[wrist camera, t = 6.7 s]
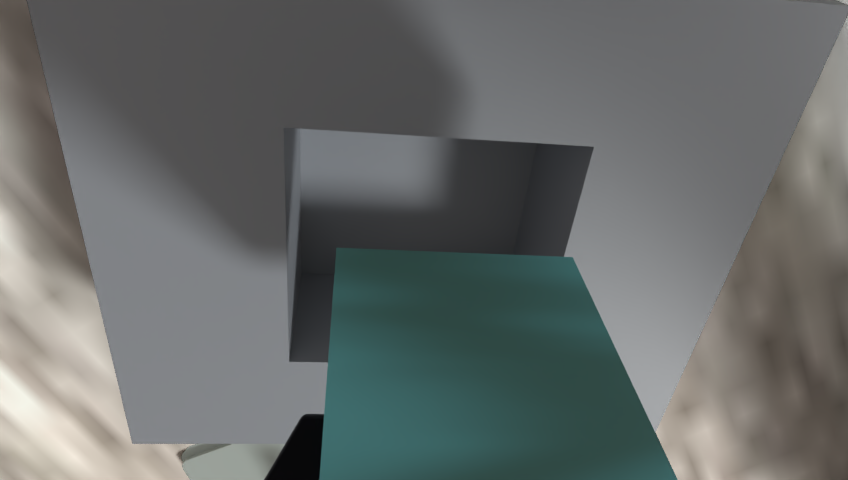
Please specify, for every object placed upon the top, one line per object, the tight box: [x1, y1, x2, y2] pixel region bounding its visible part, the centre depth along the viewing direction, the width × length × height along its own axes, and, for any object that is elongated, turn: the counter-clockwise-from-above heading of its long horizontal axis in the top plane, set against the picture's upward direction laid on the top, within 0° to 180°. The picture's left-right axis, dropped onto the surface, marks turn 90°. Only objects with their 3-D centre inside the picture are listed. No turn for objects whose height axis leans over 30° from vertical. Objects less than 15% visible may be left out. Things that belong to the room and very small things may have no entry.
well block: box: [27, 0, 848, 444], centre depth 15 cm, size 14×12×4 cm
